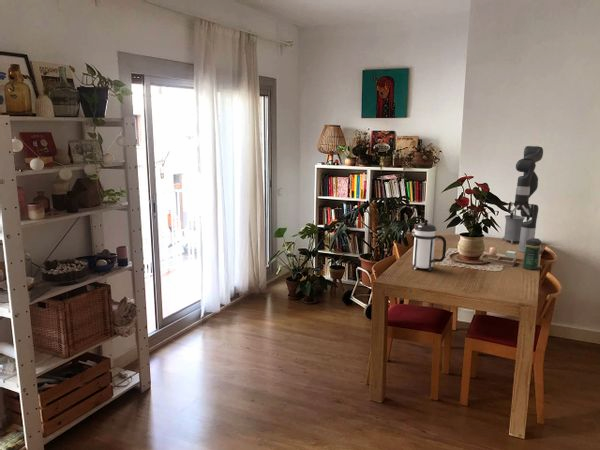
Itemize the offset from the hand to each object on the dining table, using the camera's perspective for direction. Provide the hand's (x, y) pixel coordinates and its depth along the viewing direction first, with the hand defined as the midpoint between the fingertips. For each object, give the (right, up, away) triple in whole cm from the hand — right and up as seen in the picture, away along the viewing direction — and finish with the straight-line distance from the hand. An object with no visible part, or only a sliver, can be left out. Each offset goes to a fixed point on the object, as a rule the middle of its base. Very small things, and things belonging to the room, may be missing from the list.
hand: (519, 220), depth 294 cm
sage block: (+4, -26, +22) cm, 34 cm away
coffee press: (-58, -29, -2) cm, 65 cm away
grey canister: (+26, -16, +71) cm, 77 cm away
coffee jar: (+8, -30, +3) cm, 31 cm away
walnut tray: (-7, -27, +15) cm, 31 cm away
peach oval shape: (-5, -24, +28) cm, 37 cm away
